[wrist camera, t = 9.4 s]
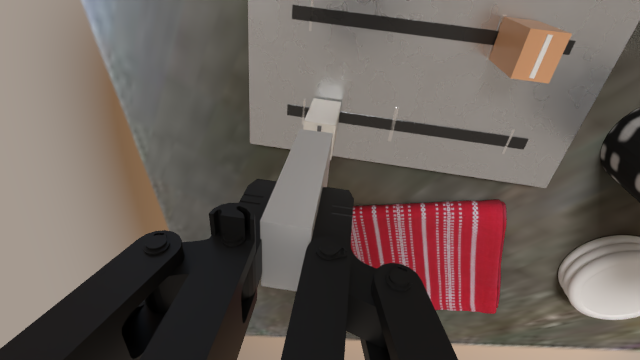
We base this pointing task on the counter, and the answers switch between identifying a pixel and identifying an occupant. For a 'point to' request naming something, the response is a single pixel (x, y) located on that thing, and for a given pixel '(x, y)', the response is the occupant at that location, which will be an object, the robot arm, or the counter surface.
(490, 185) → the counter surface
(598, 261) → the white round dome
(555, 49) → the fader terracotta
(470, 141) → the console
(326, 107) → the fader cream
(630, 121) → the white-spotted black cylinder
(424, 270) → the dish towel
